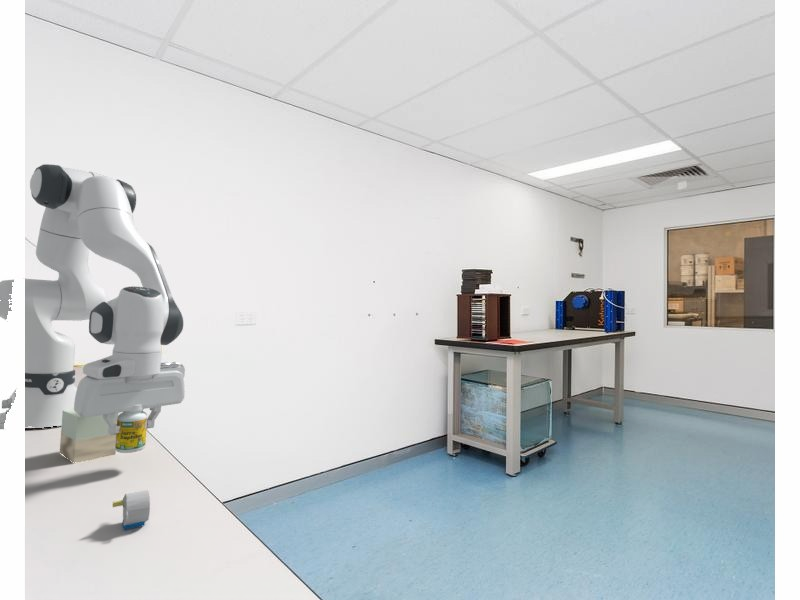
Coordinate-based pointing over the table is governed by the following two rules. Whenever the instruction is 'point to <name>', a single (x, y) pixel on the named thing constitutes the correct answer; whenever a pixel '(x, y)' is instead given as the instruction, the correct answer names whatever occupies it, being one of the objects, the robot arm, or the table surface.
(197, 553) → the table surface
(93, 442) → the tower bottom block
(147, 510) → the electric motor
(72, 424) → the tower top block
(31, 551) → the table surface
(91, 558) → the table surface
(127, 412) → the supplement bottle
